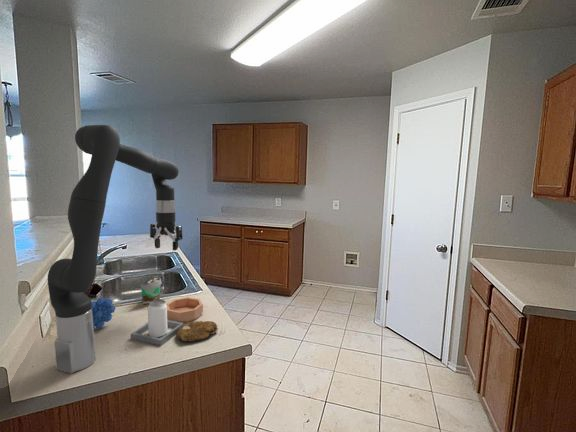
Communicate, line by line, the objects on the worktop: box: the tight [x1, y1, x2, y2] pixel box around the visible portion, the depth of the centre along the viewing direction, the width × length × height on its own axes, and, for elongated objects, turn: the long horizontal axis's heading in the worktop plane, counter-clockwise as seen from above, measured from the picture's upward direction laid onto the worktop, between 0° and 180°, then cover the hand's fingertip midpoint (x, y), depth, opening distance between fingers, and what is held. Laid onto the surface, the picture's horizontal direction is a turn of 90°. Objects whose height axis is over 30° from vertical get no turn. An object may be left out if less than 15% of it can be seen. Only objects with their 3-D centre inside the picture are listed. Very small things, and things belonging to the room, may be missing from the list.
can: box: [147, 299, 169, 338], centre depth 116 cm, size 6×6×12 cm
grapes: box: [91, 296, 116, 330], centre depth 119 cm, size 12×7×12 cm, turn 133°
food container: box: [140, 275, 163, 306], centre depth 144 cm, size 12×6×10 cm, turn 179°
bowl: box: [166, 296, 204, 324], centre depth 131 cm, size 14×14×4 cm
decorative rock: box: [175, 320, 219, 342], centre depth 116 cm, size 11×4×15 cm
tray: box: [130, 319, 185, 346], centre depth 116 cm, size 13×13×2 cm
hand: (166, 249), depth 132 cm, fingers open, 8 cm apart
